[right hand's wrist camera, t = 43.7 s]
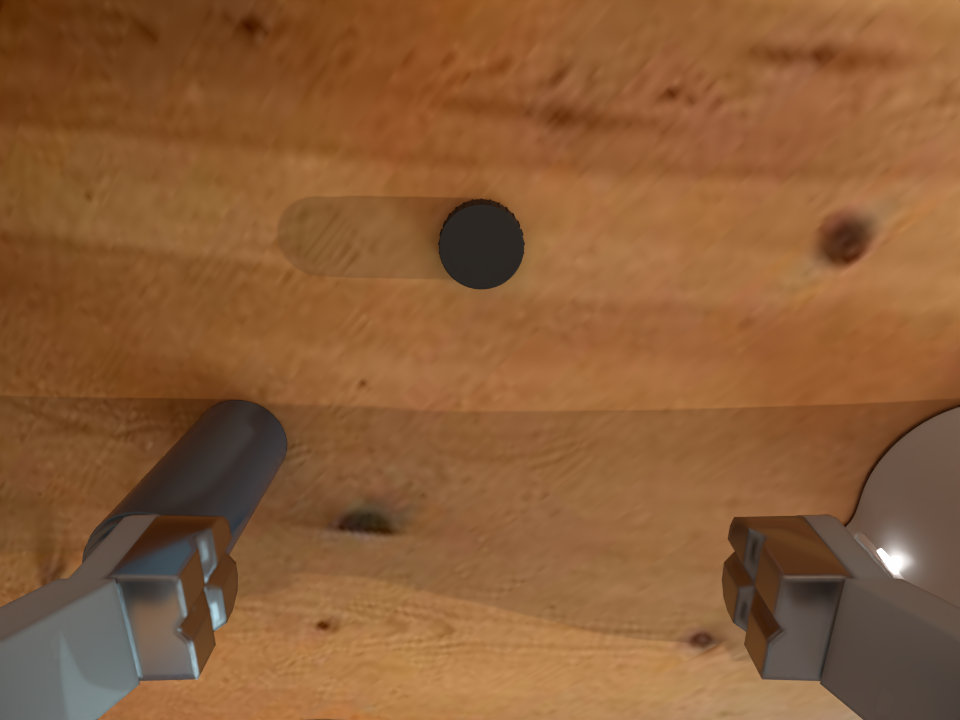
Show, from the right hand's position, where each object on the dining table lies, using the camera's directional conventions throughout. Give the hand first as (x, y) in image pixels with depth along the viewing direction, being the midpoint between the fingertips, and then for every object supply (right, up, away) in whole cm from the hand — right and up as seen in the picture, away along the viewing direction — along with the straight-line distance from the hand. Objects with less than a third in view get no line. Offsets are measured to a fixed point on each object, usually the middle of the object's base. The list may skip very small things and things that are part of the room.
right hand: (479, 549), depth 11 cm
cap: (0, +9, +24) cm, 26 cm away
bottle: (-15, -2, +31) cm, 34 cm away
